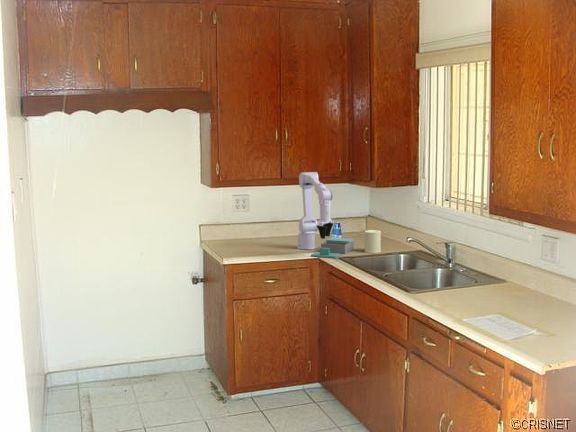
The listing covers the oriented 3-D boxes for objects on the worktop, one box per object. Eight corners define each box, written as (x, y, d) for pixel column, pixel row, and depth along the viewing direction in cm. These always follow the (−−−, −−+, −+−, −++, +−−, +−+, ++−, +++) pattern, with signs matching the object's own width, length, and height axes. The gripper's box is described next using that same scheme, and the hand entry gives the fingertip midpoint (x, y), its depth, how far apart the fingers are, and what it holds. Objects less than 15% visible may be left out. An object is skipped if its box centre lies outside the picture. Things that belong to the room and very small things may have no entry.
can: (379, 253, 384) (379, 232, 382) (362, 252, 387) (362, 231, 385) (382, 250, 393) (382, 229, 391) (366, 249, 396) (366, 228, 394)
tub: (321, 252, 388) (321, 242, 387) (330, 247, 403) (330, 237, 402) (345, 254, 383) (345, 243, 382) (353, 249, 397) (353, 239, 396)
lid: (311, 257, 376) (311, 248, 376) (316, 254, 384) (316, 245, 383) (335, 259, 371) (335, 249, 370) (340, 256, 378) (340, 247, 377)
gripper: (327, 214, 366) (327, 240, 368) (336, 211, 379) (336, 235, 381) (315, 213, 369) (315, 239, 371) (324, 210, 382) (324, 234, 384)
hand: (325, 237), depth 376 cm, fingers open, 7 cm apart
